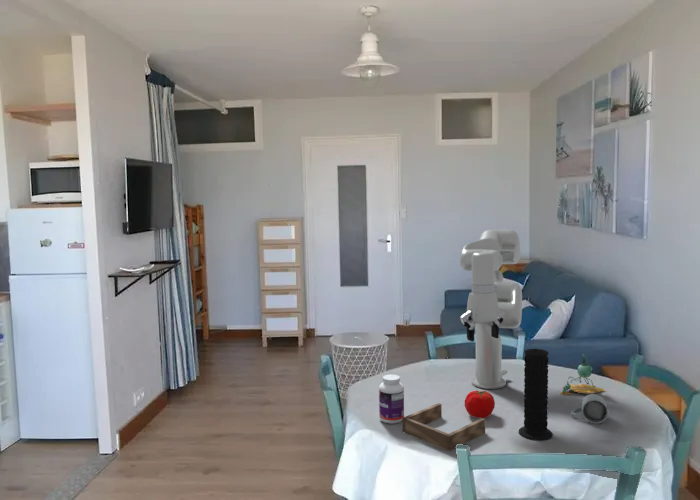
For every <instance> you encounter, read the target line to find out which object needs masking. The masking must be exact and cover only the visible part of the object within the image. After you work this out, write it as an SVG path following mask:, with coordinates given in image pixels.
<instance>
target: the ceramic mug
mask: <svg viewBox="0 0 700 500" xmlns="http://www.w3.org/2000/svg"><path fill="white" fill-rule="evenodd" d="M570 414H571V416H572V418H573V419H580V418H584V420H586V421H587V422H588V423H591V424H594V425H595V424H601V423H603V422H605V421H606V420H607V418H608V416H609V410H608V405H607V403H606V400H605V399H604V398H603V397H602V396H600V395H599V394H596V393H592V394H586V396H585V397H584V398H583V400H582V402H581V406H578V407H575V408H574V409H572V410H571V412H570Z"/></svg>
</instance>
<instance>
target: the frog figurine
mask: <svg viewBox="0 0 700 500" xmlns="http://www.w3.org/2000/svg"><path fill="white" fill-rule="evenodd" d="M581 358H582V361H581V363H580V364H579V365H578V367H577V374H578V376H579V377H576V378H574V377H573V376H569V377H568V378H567V380H569V379H570V378H571V381H570V384H569V381H567V382H566V384H565V385H563V387H562V391H560V393H559V394H560V396H561V395H563V396H568V395H574V394H575V393H574V392H577V393H578V394H586V395H590V394H596V393H601V392H606V389H603V388H601V387H597V385H596V386H595V385H594V384H593V380H592V379H589V378H590V377H591V376H592V374H593V373H594V370H593V368H594V366H593V365H594V364H592V363H590V365H589V364H588V363H587V361H586V355H585V354H584V353H582V355H581ZM582 378H583V379H584V381H585V384H584V383H582ZM573 380H574V381H577V380H578V382H579V383H580V384H572V382H573ZM589 381H590V382H591V384H592V385H590V382H589ZM569 390H570V391H572V392H570V391H569Z"/></svg>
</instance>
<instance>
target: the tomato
mask: <svg viewBox="0 0 700 500" xmlns="http://www.w3.org/2000/svg"><path fill="white" fill-rule="evenodd" d="M495 406H496V403H495V398H494V396H493V395H492V394H491V393H490V392H488V391H487V390H478V389H476V390H472V391H469V393H468V394H466V397H465V399H464V407H465V410H466V412H467V414H468V415H469V416H471V417H473V418H477V419H481V418H483V419H487V418H488V417H489V416H492V413H493V412H494V409H495Z"/></svg>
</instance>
